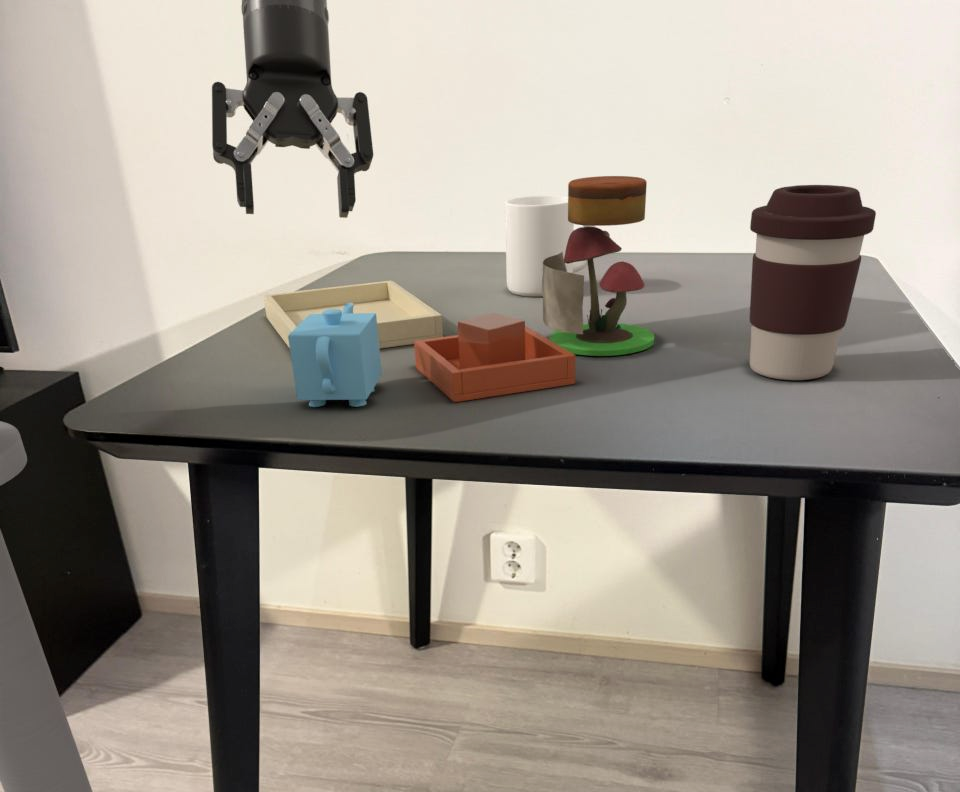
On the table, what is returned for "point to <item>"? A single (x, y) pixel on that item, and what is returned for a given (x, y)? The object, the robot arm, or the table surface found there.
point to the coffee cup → (804, 277)
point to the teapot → (336, 356)
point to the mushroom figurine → (565, 291)
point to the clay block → (490, 340)
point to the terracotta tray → (494, 368)
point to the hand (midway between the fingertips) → (297, 213)
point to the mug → (535, 240)
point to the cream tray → (359, 310)
